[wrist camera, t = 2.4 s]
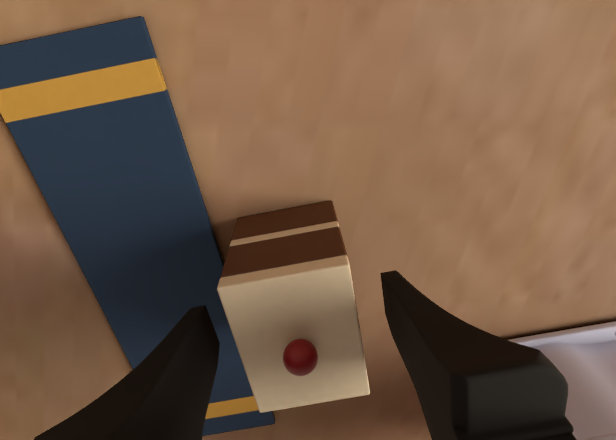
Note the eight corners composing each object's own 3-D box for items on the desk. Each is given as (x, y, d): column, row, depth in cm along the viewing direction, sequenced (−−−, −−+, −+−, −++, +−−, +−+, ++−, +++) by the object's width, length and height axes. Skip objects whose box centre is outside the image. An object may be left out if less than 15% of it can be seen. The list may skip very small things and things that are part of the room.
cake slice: (332, 199, 17) (355, 284, 11) (349, 305, 20) (376, 421, 14) (237, 217, 17) (209, 310, 11) (267, 319, 20) (257, 440, 14)
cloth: (144, 16, 14) (140, 16, 14) (275, 419, 23) (274, 424, 23) (-26, 51, 14) (-32, 52, 14) (171, 437, 23) (169, 442, 23)
